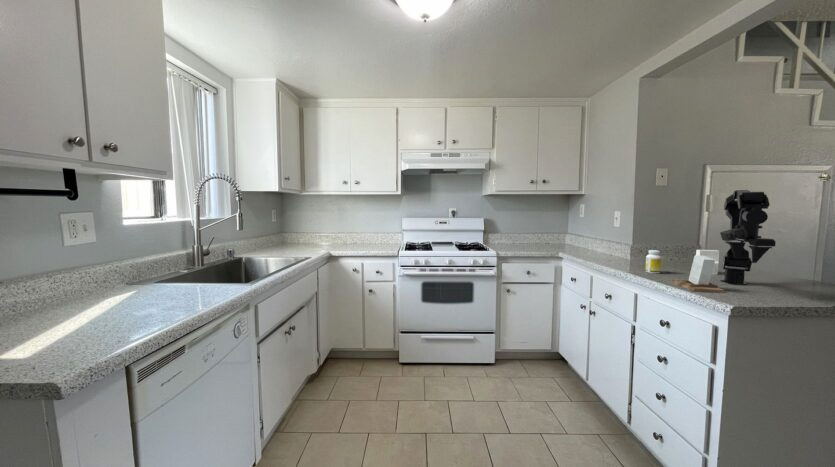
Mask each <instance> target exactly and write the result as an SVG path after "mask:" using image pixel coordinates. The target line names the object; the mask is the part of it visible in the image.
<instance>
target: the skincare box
mask: <svg viewBox="0 0 835 467" xmlns="http://www.w3.org/2000/svg"><path fill="white" fill-rule="evenodd" d="M714 262H715V260H714V259H711V258H709V257H707V256H700V255H696V254H695V255H694V256H693V260H692V264H691V268H690V272H689V277H688V279H687V280H688V281H690V282H692V283H693V284H703V285H709V283H711V282H710V281H711V277H712V275H711V274H712V270H713V266H714Z"/></svg>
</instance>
